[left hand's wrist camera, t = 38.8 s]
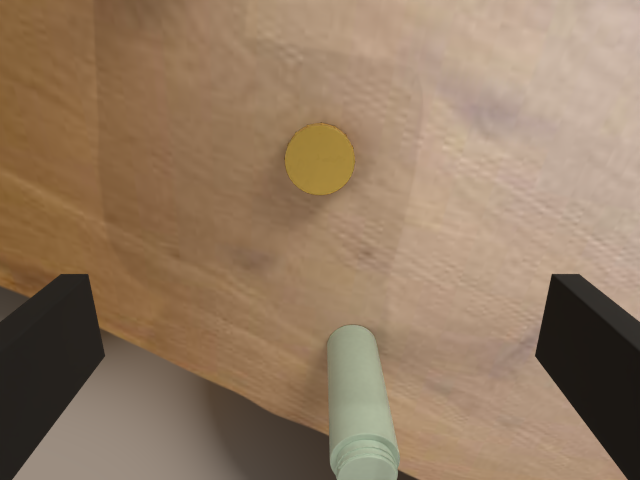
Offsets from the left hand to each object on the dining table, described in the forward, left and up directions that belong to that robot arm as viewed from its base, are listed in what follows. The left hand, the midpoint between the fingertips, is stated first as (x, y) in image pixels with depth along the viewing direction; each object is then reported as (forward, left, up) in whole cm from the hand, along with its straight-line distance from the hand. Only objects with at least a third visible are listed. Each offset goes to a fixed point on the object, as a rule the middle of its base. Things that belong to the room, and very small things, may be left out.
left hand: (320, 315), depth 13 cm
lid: (0, 0, -25) cm, 25 cm away
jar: (+15, -12, -26) cm, 33 cm away
